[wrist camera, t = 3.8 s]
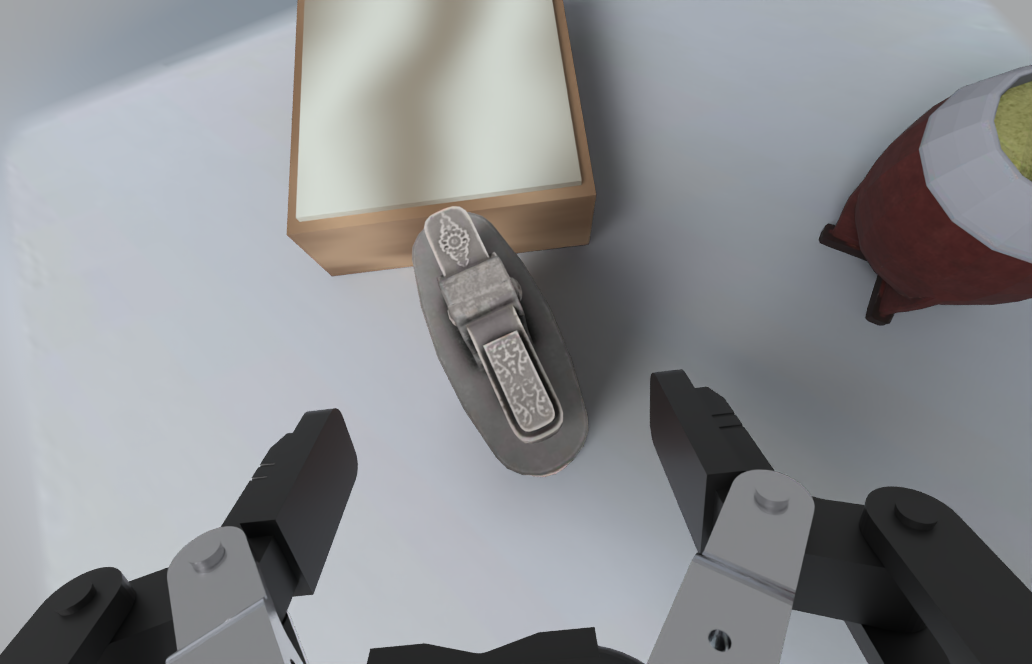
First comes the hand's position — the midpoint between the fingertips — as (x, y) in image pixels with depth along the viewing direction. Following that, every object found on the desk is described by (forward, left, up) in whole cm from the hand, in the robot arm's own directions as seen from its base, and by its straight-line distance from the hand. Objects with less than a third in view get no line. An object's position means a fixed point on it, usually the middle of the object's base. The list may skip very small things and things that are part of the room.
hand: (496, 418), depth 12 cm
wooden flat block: (+2, -15, -8) cm, 17 cm away
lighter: (0, -2, -8) cm, 8 cm away
